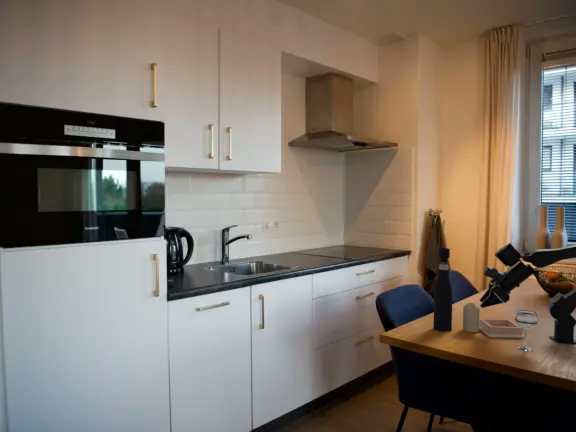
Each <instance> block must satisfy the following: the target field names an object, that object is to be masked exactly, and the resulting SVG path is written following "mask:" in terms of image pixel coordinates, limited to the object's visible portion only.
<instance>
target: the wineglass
mask: <svg viewBox="0 0 576 432" xmlns="http://www.w3.org/2000/svg"><path fill="white" fill-rule="evenodd" d="M514 312H515V314H514V321H515V323H516V324H517V325H519V326H520V327H522V328H523V330H524V335H525V338H524V345H521V346H517V347H516V349H518V350H519V351H523V352H534V351H535V349H534V348H532V347H529V346H527V339H528V338H527V337H528V331H529V330H530V329H533V328H534V327H535V326H536V325H538V323H539V317H538V315H539V313H538V312H537V311H534V310H529V309H515V310H514Z"/></svg>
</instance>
